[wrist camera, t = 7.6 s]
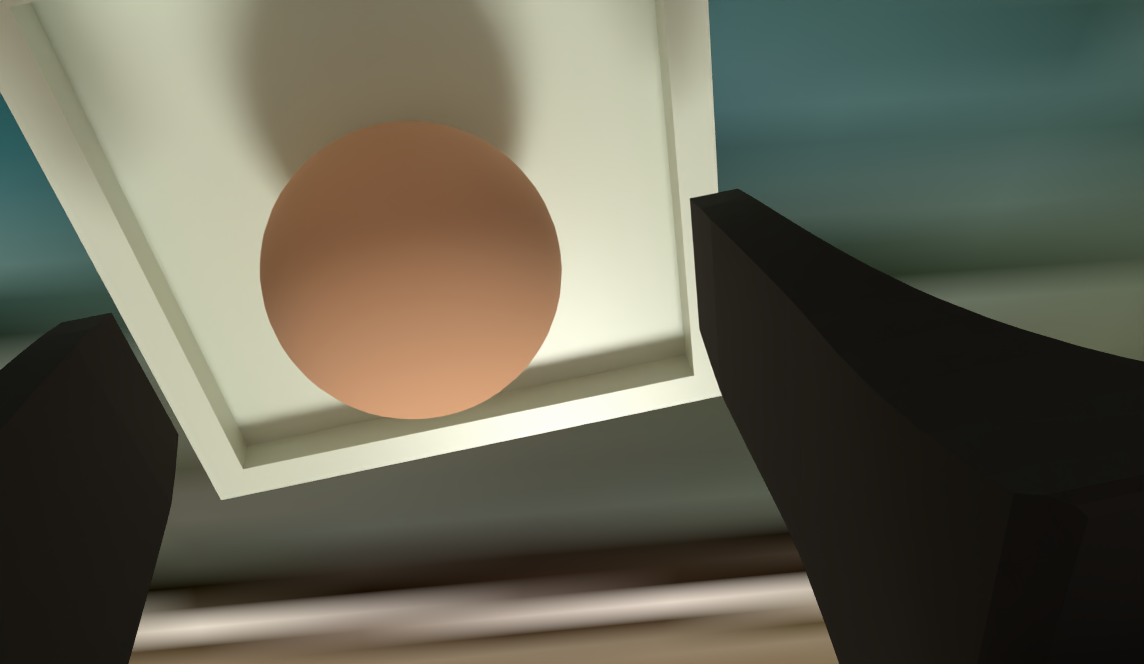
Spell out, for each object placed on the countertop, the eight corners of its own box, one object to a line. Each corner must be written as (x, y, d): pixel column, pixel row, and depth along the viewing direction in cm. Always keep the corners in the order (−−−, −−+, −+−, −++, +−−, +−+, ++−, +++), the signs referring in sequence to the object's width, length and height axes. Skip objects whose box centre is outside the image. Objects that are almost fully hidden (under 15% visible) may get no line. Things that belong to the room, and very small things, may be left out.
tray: (680, -188, 12) (699, -178, 11) (715, 363, 17) (728, 393, 17) (-40, -55, 12) (-68, -35, 11) (228, 465, 17) (221, 500, 16)
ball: (517, 51, 13) (560, 178, 10) (557, 283, 15) (602, 446, 12) (235, 105, 13) (186, 253, 10) (320, 332, 15) (304, 509, 12)
